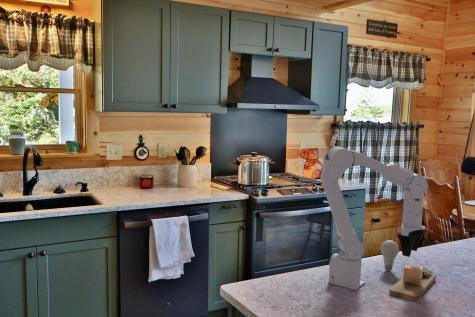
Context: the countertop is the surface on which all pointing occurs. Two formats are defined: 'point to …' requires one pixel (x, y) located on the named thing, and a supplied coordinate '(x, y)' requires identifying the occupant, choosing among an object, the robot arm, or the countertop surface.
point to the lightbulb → (389, 253)
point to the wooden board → (411, 288)
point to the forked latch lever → (414, 275)
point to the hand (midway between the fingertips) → (409, 253)
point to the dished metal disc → (423, 269)
